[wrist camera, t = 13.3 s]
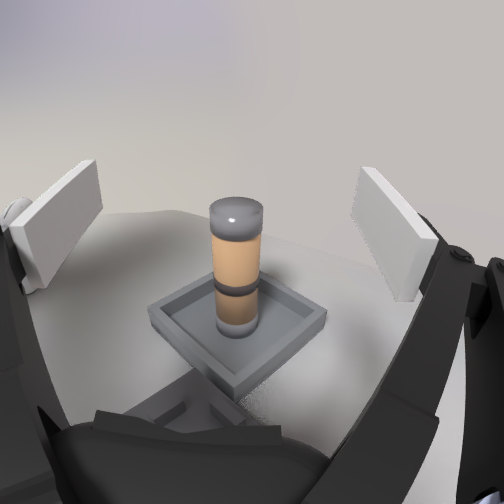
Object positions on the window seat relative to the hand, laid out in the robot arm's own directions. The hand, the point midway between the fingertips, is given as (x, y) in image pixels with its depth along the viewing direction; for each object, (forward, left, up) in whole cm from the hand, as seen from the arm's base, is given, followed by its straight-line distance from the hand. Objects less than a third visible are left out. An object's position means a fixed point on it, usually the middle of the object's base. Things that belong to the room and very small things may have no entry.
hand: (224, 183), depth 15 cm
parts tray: (-8, +8, -21) cm, 24 cm away
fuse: (-7, +8, -20) cm, 23 cm away
